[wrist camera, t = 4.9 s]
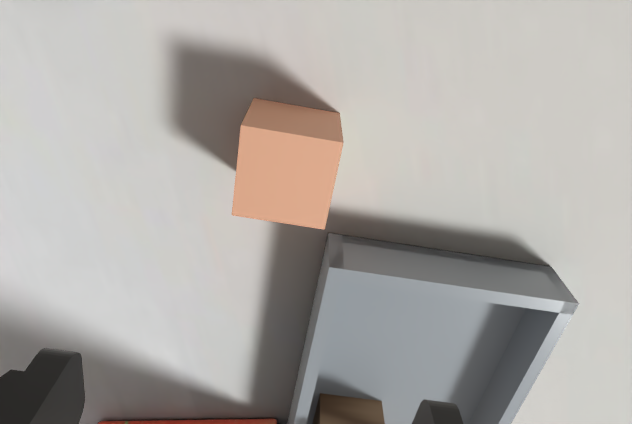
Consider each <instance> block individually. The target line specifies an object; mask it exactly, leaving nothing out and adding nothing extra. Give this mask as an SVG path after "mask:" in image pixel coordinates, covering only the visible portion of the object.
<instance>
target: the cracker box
mask: <svg viewBox="0 0 632 424" xmlns="http://www.w3.org/2000/svg"><path fill="white" fill-rule="evenodd" d="M98 424H277V420H276V419H223V420H157V421H100V422H98Z"/></svg>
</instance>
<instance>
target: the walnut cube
mask: <svg viewBox="0 0 632 424" xmlns="http://www.w3.org/2000/svg"><path fill="white" fill-rule="evenodd" d="M312 424H385V422H384V414H383V407H382V401H378V400H370V399H362V398H354V397H346V396H338V395H330V394H322V393H320V396H319V400H318V403H317V407H316V411H315V415H314V419H313V423H312Z"/></svg>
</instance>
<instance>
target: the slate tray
mask: <svg viewBox="0 0 632 424" xmlns="http://www.w3.org/2000/svg"><path fill="white" fill-rule="evenodd" d="M578 305H579V303H578V302H577V300H576V299H575V298H574V296H573V295H572V294H571V292H570V291H569V290H568V288H567V287H566V286H565V284H564V283H563V282H562V280H561V279H560V278H559V276H558V275H557V274H556V272H555V271H554V270H553V268H552V267H549V266H543V265H536V264H530V263H523V262H517V261H510V260H503V259H497V258H490V257H484V256H477V255H470V254H464V253H457V252H451V251H444V250H438V249H431V248H424V247H418V246H411V245H405V244H398V243H392V242H385V241H378V240H372V239H365V238H359V237H352V236H345V235H339V234H332V233H328V237H327V242H326V246H325V251H324V255H323V260H322V265H321V269H320V274H319V279H318V283H317V288H316V292H315V297H314V302H313V306H312V311H311V316H310V320H309V325H308V330H307V334H306V339H305V343H304V348H303V353H302V357H301V362H300V367H299V371H298V376H297V380H296V385H295V390H294V394H293V399H292V404H291V408H290V413H289V418H288V422H287V424H312V423H313V419H314V415H315V411H316V407H317V403H318V400H319V396H320V393H322V394H330V395H338V396H346V397H354V398H362V399H370V400H378V401H382V407H383V414H384V422H385V424H412V422H413V420H414V417H415V415H416V412H417V410H418V408H419V405H420V403H421V402H422V400H424V399H426V400H433V401H441V402H448V403H454V404H456V405H457V407H458V409H459V411H460V414H461V417H462V421H463V424H511V423H512V421H513V419H514V418H515V416H516V414H517V412H518V411H519V409H520V407H521V405H522V403H523V402H524V400H525V398H526V396H527V395H528V393H529V391H530V389H531V388H532V386H533V384H534V382H535V381H536V379H537V377H538V375H539V374H540V372H541V370H542V368H543V367H544V365H545V363H546V361H547V359H548V358H549V356H550V354H551V352H552V351H553V349H554V347H555V345H556V344H557V342H558V340H559V338H560V337H561V335H562V333H563V331H564V330H565V328H566V326H567V324H568V323H569V321H570V319H571V317H572V315H573V314H574V312H575V310H576V308H577V307H578Z"/></svg>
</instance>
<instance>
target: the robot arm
mask: <svg viewBox="0 0 632 424" xmlns="http://www.w3.org/2000/svg"><path fill="white" fill-rule="evenodd" d="M84 402H85V393H84V381H83V370H82V358H81V355H80V353H78V352H70V351H62V350H55V349H47V348H44V349H42V350H41V351H40V352H39V353H38V354H37V355H36V356H35V358H34V359H33V361H32V362H31V363H30V365H29V366H28V368H27V369H26V370H25V371H17V370H10V371H8V372H7V373H6V374H4V375H3V376H2V377H0V424H78V423H79V421H80V418H81V415H82V412H83V407H84ZM412 424H463V421H462V417H461V414H460V411H459V409H458V407H457V405H456V404H454V403H448V402H441V401H433V400H426V399H424V400H422V402H421V403H420V405H419V408H418V410H417V412H416V415H415V417H414V420H413V422H412Z"/></svg>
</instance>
